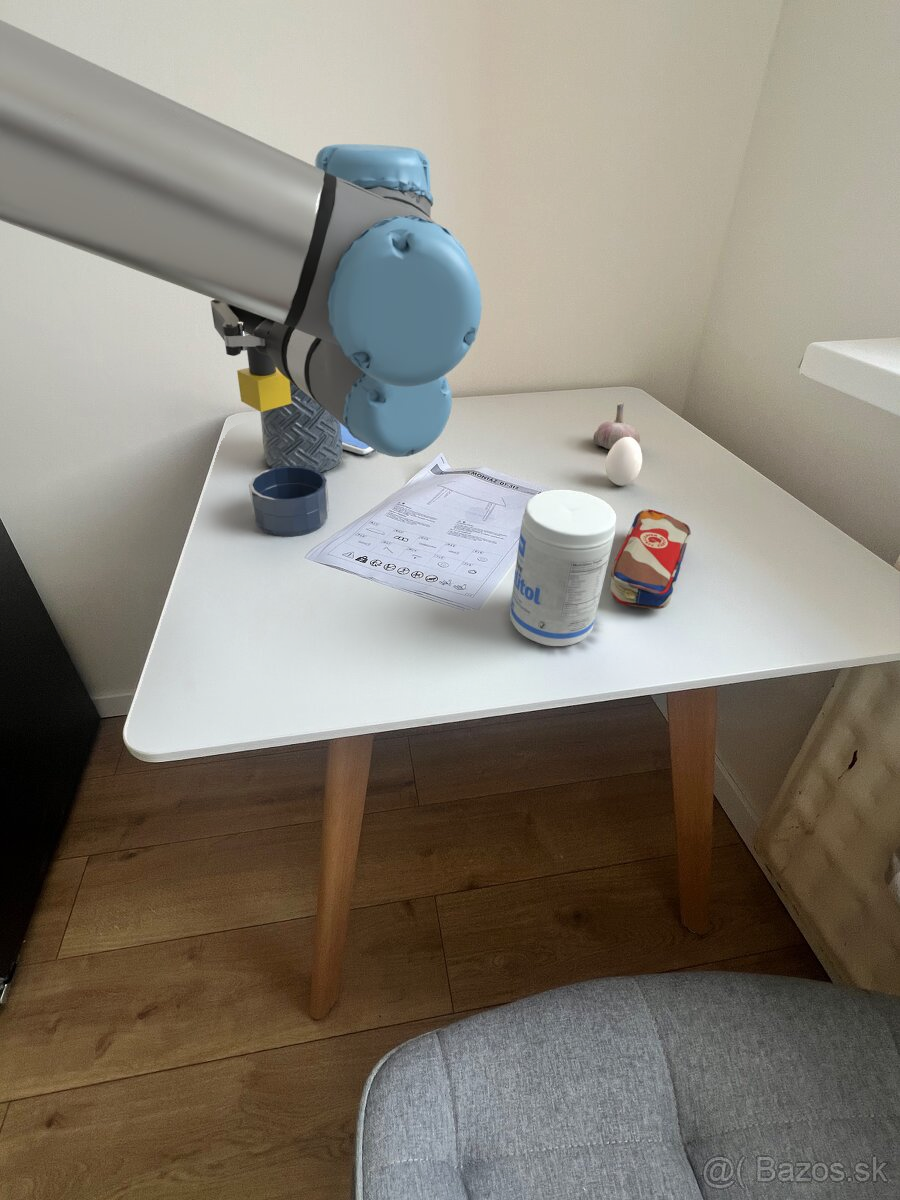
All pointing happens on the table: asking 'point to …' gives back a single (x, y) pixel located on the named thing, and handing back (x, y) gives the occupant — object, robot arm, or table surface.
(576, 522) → the supplement tub
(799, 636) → the table surface
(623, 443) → the egg
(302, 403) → the vase
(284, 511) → the bowl
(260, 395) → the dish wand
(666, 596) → the pencil case
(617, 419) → the garlic bulb
